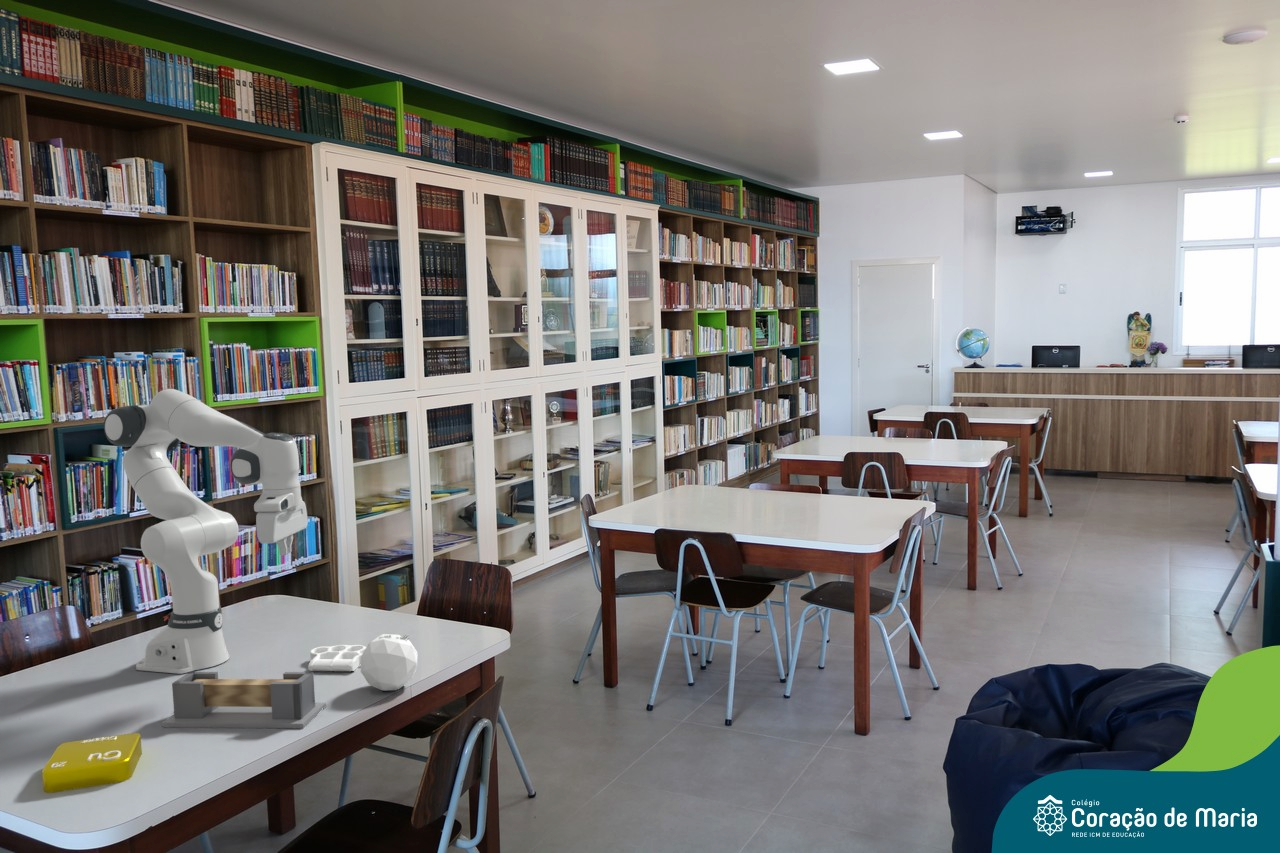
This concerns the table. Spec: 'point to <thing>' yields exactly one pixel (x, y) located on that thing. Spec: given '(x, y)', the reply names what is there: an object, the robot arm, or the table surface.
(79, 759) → the element tile
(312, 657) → the knuckle duster
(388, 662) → the geodesic sphere
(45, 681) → the table surface
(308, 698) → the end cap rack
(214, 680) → the oak slat
